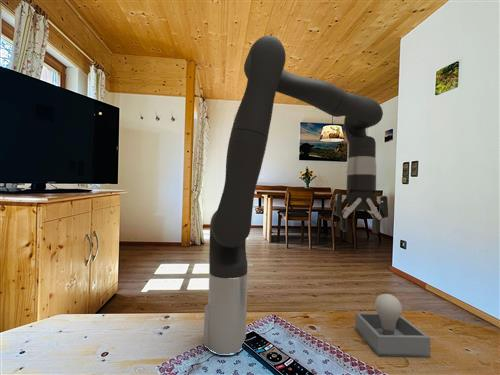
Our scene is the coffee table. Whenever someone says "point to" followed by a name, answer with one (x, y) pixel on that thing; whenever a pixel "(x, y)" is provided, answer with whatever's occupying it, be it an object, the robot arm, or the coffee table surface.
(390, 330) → the lightbulb
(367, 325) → the tray
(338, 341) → the coffee table surface
